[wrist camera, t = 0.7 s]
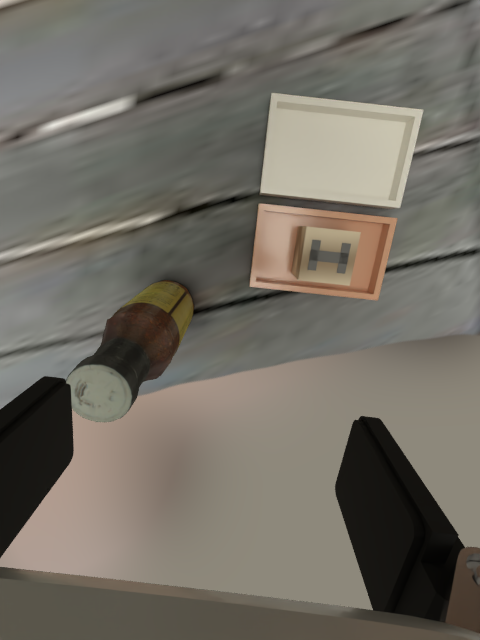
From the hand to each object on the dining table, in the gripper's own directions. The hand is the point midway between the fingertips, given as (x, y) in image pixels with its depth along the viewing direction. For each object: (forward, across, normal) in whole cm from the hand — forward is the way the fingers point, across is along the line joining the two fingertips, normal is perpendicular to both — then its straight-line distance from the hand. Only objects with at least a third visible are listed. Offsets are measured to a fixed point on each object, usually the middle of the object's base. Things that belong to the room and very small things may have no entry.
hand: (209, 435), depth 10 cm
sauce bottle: (+27, +7, +4) cm, 28 cm away
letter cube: (+26, -8, -4) cm, 28 cm away
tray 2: (+27, -8, -4) cm, 29 cm away
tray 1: (+27, -8, -14) cm, 32 cm away
